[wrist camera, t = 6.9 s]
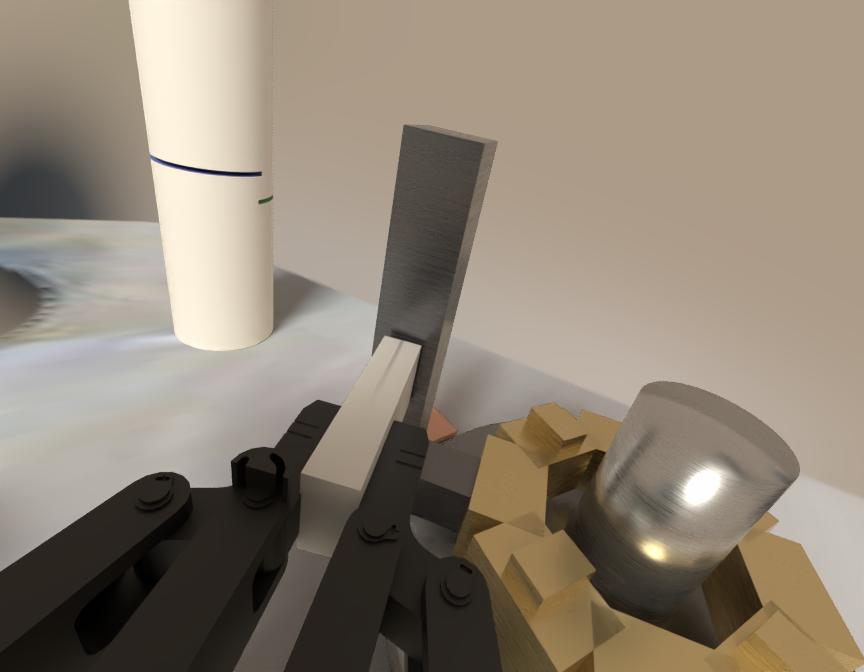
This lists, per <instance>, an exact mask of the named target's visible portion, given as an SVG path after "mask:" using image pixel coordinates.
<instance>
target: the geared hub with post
mask: <svg viewBox="0 0 864 672" xmlns="http://www.w3.org/2000/svg"><path fill="white" fill-rule="evenodd" d="M497 143H498V141H494V140H490V139H486V138H481V137H477V136H473V135H469V134H464V133H460V132H456V131H451V130H446V129H443V128H438V127H434V126H430V125H404V128H403V134H402V141H401V149H400V157H399V163H398V170H397V177H396V185H395V192H394V199H393V206H392V214H391V220H390V227H389V235H388V242H387V249H386V256H385V264H384V271H383V278H382V285H381V292H380V299H379V306H378V314H377V321H376V328H375V335H374V342H373V349H372V356H373V354H374V352H375V351H376V349H377V347H378V346H379V344H380V343H381V341H382V339H383V338H384V336H388V337H391V338H395V339H399V340H402V341H406V342H410V343H414V344H417V345H421V350H420V355H419V359H418V364H417V369H416V373H415V378H414V382H413V387H412V392H411V396H410V401H409V405H408V408H407V410H406V413H405V416H404V418H403V421H402V422H403V423H406V424H410V425H413V426H417V427H420V428H424V429H426V431H427V429H428V424H429V420H430V416H431V412H432V408H433V404H434V400H435V396H436V392H437V388H438V384H439V380H440V375H441V371H442V367H443V363H444V359H445V355H446V351H447V347H448V343H449V339H450V335H451V331H452V327H453V322H454V318H455V314H456V310H457V306H458V302H459V298H460V294H461V290H462V286H463V281H464V277H465V274H466V269H467V265H468V261H469V257H470V253H471V249H472V245H473V241H474V237H475V233H476V229H477V225H478V220H479V216H480V212H481V208H482V204H483V200H484V196H485V192H486V188H487V184H488V180H489V176H490V172H491V168H492V163H493V159H494V155H495V151H496V146H497ZM621 425H622V423H621V422H618V421H615V420H612V419H609V418H606V417H603V416H600V415H597V414H594V413H591V412H588V411H585V410H582V411H581V413H580V415H579V417H578V419H577V420H576V419H575V418H574V417H573V416H572V415H571V414H570V413H569V412H568V411H567V410H566V409H564V408H562V409H561V408H560V407H559V406H558V405H557V404H556V403H555V402H553V403H549V404H545V405H540V406H536V407H532V408H531V410H530V413H529V415H528V417H526V418H522V419H518V420H514V421H510V422H506V423H502V424H499V427H498V430H497V433H496V435H495V437H494V436H492V435H489V434H488V436H487V439H486V442H485V445H484V448H483V450H482V453H481V456H480V458H478V457H475V456H473V455H470V454H467V453H464V452H462V451H459V450H456V449H453V448H451V447H448V446H445V445H442V444H440V443H437V442H434V441H431V440H429V447H428V450H427V454H426V458H425V462H424V465H423V469H422V473H421V477H420V481H419V484H418V488H417V492H416V495H415V499H414V503H413V507H412V510H411V514H412V515H414V516H417V517H419V518H422V519H424V520H427V521H430V522H432V523H435V524H437V525H440V526H442V527H445V528H447V529H450V530H452V531H455V532H457V533H458V535H457V538H456V542H455V546H454V549H453V553H452V555H455V556H457V557H460V558H464V559H466V560H468V561H469V562H471V563H472V564H474V565H475V566H477V568H478V569H479V570H480V572H481V573H482V574H483V576H484V577H485V580H486V583H487V586H488V589H489V594H490V600H491V606H492V612H493V618H494V624H495V629H496V635H497V641H498V647H499V653H500V659H501V665H502V668H503V670H504V672H853V671H854V670H856V669H857V668H859V667H860V666H862V665H863V664H864V657H863V655H862V653H861V652H860V650H859V648H858V646H857V644H856V643H855V641H854V639H853V637H852V635H851V634H850V632H849V630H848V628H847V626H846V625H845V623H844V621H843V619H842V617H841V616H840V614H839V612H838V610H837V609H836V607H835V605H834V603H833V601H832V600H831V598H830V596H829V594H828V592H827V591H826V589H825V587H824V585H823V583H822V582H821V580H820V578H819V576H818V574H817V573H816V571H815V569H814V567H813V566H812V564H811V562H810V560H809V558H808V557H807V555H806V553H805V551H804V549H803V548H802V546H801V544H799V543H796V542H793V541H790V540H788V539H785V538H782V537H779V536H776V535H773V534H770V533H769V532H770V531H771V529H772V528H773V527H774V526H775V525H776V524H777V523H778V522H779V520H778V519H776V518H775V517H774V516H772V515H771V514H770V513H769V512H766V513H765V514H764V515H763V517H762V518H761V519H760V520H759V521H758V522H757V523H756V524H755V525H754V526H753V528H752V529H751V530H750V531H749V532H748V533H747V534H746V535H745V536H744V537H743V539H742V540H741V541H740V542H739V543H738V544H737V545H736V546H735V547H734V548H733V550H732V551H731V552H730V553H729V554H728V555H727V556H726V557H725V558H724V559H723V561H722V562H721V563H720V564H719V565H718V566H717V567H716V568H715V569H714V570H713V572H712V573H711V574H710V575H709V576H708V577H707V578H706V579H705V580H704V581H703V582H702V584H701V586H702V590H703V593H704V597H705V600H706V603H707V607H708V610H709V614H710V617H711V621H712V624H713V628H714V631H715V634H716V638H717V641H718V645H719V646H718V647H717V648H716V649H715V650H714V649H711V648H709V647H706V646H704V645H701V644H699V643H696V642H694V641H691V640H689V639H686V638H684V637H681V636H679V635H676V634H674V633H671V632H669V631H666V630H664V629H661V628H659V627H656V626H654V625H652V624H649V623H647V622H644V621H642V620H639V619H637V618H634V617H632V616H629V615H627V614H624V613H622V612H619V611H617V610H614V609H612V608H610V607H609V606H608V604H607V603H606V602H605V601H604V599H603V598H602V597H601V595H600V594H599V593H598V592H597V590H596V589H595V588H594V586H593V585H592V584H591V583H590V579H591V578H592V576H593V575H594V573H595V572H596V569H595V568H594V567H593V566H592V564H591V563H590V562H589V561H588V559H587V558H586V557H585V556H584V554H583V553H582V552H581V551H580V550H579V548H578V547H577V546H576V545H575V543H574V542H573V541H572V540H571V538H570V537H569V536H568V535H567V533H566V532H565V531H564V530H561V531H559V532H557V533H554V534H552V533H551V532H550V530H549V529H548V528H547V526H546V525H545V512H546V500H548V499H551V498H553V497H556V496H558V495H561V494H564V493H566V492H569V491H571V490H574V489H577V490H579V491H582V492H585V490H586V488H587V486H588V485H589V483H590V481H591V479H592V477H593V475H594V474H595V472H596V470H597V468H598V466H599V465H600V463H601V461H602V459H603V457H604V456H605V454H606V452H607V450H608V448H609V447H610V445H611V443H612V441H613V439H614V437H615V436H616V434H617V432H618V430H619V428H620V427H621Z"/></svg>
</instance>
